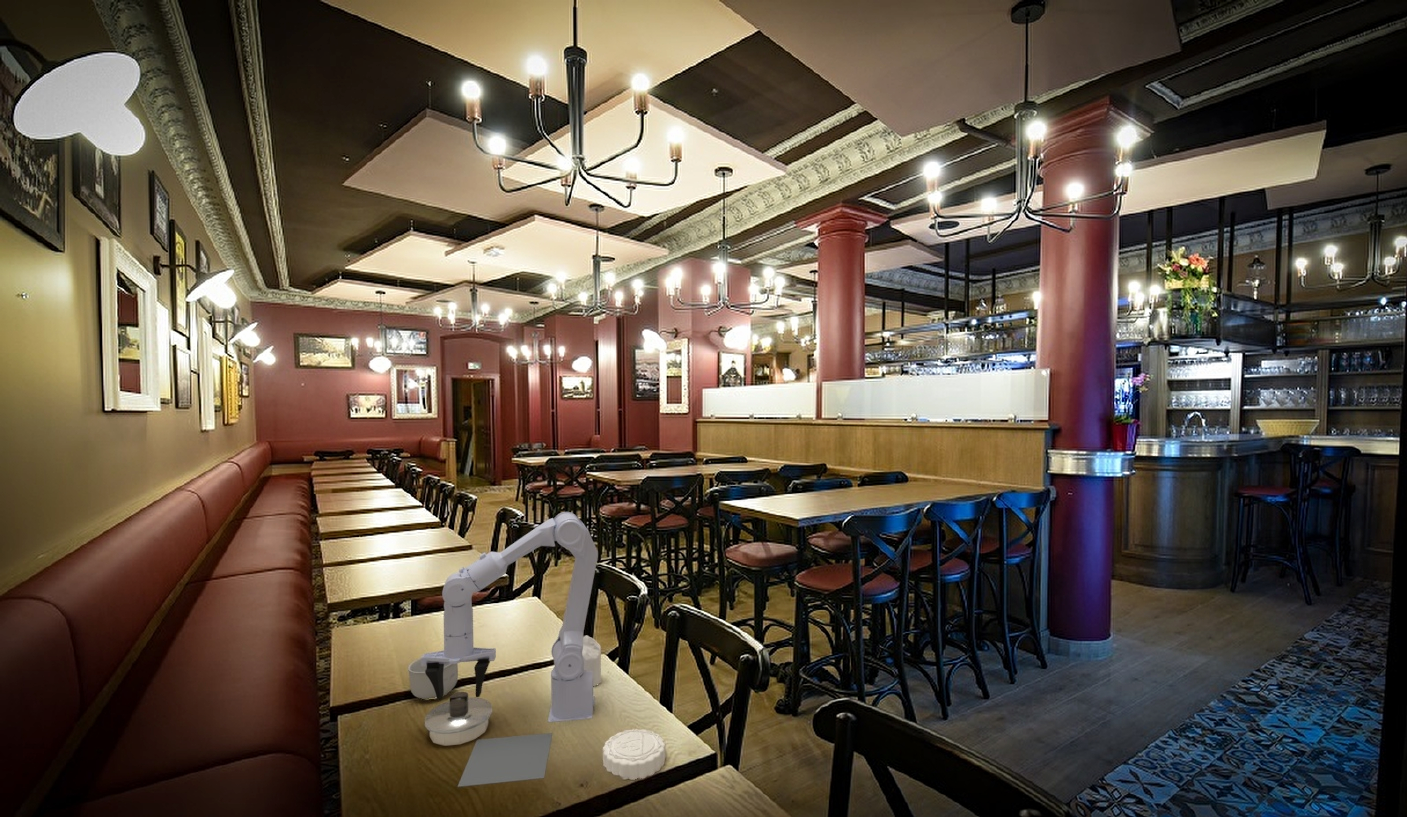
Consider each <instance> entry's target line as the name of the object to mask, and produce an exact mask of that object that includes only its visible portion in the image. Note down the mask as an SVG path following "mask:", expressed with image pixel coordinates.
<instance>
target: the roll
mask: <svg viewBox="0 0 1407 817" xmlns="http://www.w3.org/2000/svg"><path fill="white" fill-rule="evenodd" d="M582 655H583V658H584V670H588V671H593V686H594V687H596V686H595V685H597V684H599V683H600V682H601V683H602V646H601V644H599V642H597V640H596V639H594V638H593V637H590V636H589V635H583V650H582ZM601 683H600V684H601ZM600 684H599V685H600ZM597 686H598V685H597Z"/></svg>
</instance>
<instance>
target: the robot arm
mask: <svg viewBox="0 0 1407 817" xmlns="http://www.w3.org/2000/svg"><path fill="white" fill-rule="evenodd" d="M555 542H557V543H558V544H559V545H560V546H561V547H563V548H564V549H566V550H568V551H569V552H570V553H571V555H573V557H574V562H573V568H572V572H571V578H570V584H569V588H568V594H567V598H566V604H565V610H564V614H563V620H562V624H561V628H560V629H559V631H558V632H559V633H558V637H557V639H556V640H555V641H554V643H553V645H552V647H551V650H550V652H551V656H552V659H553V666H554V667H553V668H552V669H551V671H550V681H551V682H550V689H551V690H550V692H551V693H550V694H551V696H550V697H551V698H550V699H551V701H550V702H551V703H550V704H551V705H550V709H549V714H548V718H547V722H548V723H558V722H568V721H578V720H580V721H581V720H589V719H593V716H594V706H595V705H596V704H595V703H596V702H595V701H596V697H595V696H596V695H594V693H595V692H594V687H593V671H588V670H584V658H583V655H582V650H583V637H584V630H585V625H586V619H587V615H588V608H589V604H590V600H591V599H590V598H591V594H592V589H593V584H594V578H595V572H596V568H597V563H598V555H599V551H598V549H597V547H596V544H595V542H594V541H593V538H592V536H591V533H590V531H589V529H588V528H587V527H586V525H585V524H584V523H583V521H582V520H581V519H580V518H579V517H578V516H577V515H576V514H574V513H573V512H569V511H563V512H560V513H558V514H557V515H556V516H555V517H554V518H553V517H552V518H548V519H547V520H546V521H544V522H543V523H541V524H539V525H538V526H536V527H535V528H533V530H530V531H529V532H528V533H526V534H525V535H523V536H522V537H520V538H519V539H517V540H516V541H514V543H512V544H510V545H509V546H507V547H506V548H505V549H503V550H502V551H500V552H499V551H489V552H488V553H486V552H482V553H481V554H479V559H478V560H475V561H474V562H473V563H471V564H469V565H468V566H467V567H464V566H463V567H460V568H459V570H458V572H455V573H452V574H450V575H449V576H448V577H447V578H446V580H445V581H444V585H443V588H442V591H441V592H442V593H441V594H442V599H443V601H444V602H443V608H444V611H443V649H442V650H439V651H434V652H429V653H428V652H426V653H423V654H422V656H420V658H421V666H427V669H426V670H425V673H426V675H427V677H428V678H429V679H430V681H431V683H432V685H433V687H434V690H435V693H436V696H437V699H436V700H437V701H442V698H443V697H444V696H443V694H444V686H443V670H444V663H449V664H458V665H459V664H460V663H467V662H468V663H470V662H475V663H476V664H475V665H474V675H475V697H476V698H480V697H481V695H482V692H483V690H482V689H483V684H484V681H485V680H484V679H485V675H486V673H487V672H488V671H487V670H488V668H489V666H490V663H491V662H494V661H495V660H496V658H497V655H496V653H497V652H496V651H497V650H496V648H485V647H474V608H473V605H472V603H473V602H472V597H473V595H474V593H477V592H480V591H481V590H483V589H485V588H487V587H488V586H489V585H491V584H492V583H494V582H495V581H497V580H498V579H499V578H502V577H503V576H504V575H506V573H507V569H508V566H510V565H511V564H513V563H514V562H516V561H518V560H519V559H521V558H522V557H524V556H526V555H527V554H529V553H531V552H533V551H534V550H536V549H537V548H540V547H556V544H555Z"/></svg>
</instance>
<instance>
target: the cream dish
mask: <svg viewBox="0 0 1407 817" xmlns="http://www.w3.org/2000/svg"><path fill="white" fill-rule="evenodd" d="M488 726H489V718H488V719H487V720H486V721H485V722H483V723H482V724H480V725H478V726H476V727H474V728H472V729H469V730H466V731H462V732H457V733H450V734H440V733H434V732H431V731H429V737H430V739H431V741H432V743H433V744H437V745H440V746H444V747H446V746H455V745H456V746H457V745H462V744H465V743H468V742H471V741H475V740H476V739H477V738H478V737H480V736H481V735H483V734H485V732H486V731H487V728H488Z"/></svg>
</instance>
